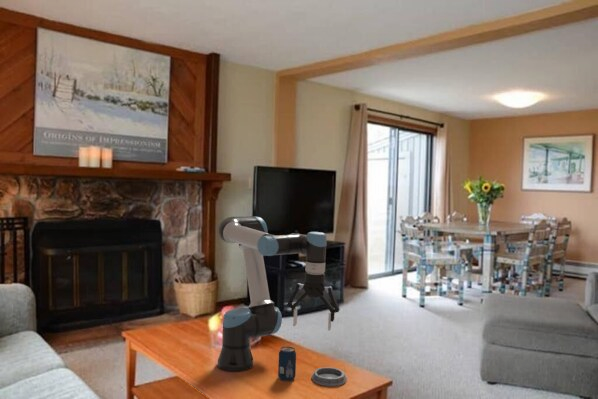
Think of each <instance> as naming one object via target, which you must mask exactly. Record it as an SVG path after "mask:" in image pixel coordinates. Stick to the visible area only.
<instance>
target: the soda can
mask: <svg viewBox="0 0 598 399" xmlns="http://www.w3.org/2000/svg"><path fill="white" fill-rule="evenodd" d="M296 367H297V352H296V349H295V347H292V346H283V347H280V350H279V352H278V369H277V370H278V372H277V376H278V379H279V380H280V381H281V382H292V381H294V379H295V378H296V372H297V371H296Z"/></svg>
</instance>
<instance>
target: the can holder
mask: <svg viewBox="0 0 598 399" xmlns="http://www.w3.org/2000/svg"><path fill="white" fill-rule="evenodd" d="M347 379H348V378H347V376H346V373H345V372H344V371H343V370H342V369H339V368H337V367H332V366H327V367H326V366H325V367H324V366H322V367H319V368H317V369H315V370H314V371H313V374H312V375H311V381H312V382H313V383H315V384H317V385H319V386H323V387H329V388H331V387H334V388H335V387H340V385H341V386H343V385H345V384H346V382H347ZM344 383H345V384H344Z"/></svg>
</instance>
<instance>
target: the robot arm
mask: <svg viewBox="0 0 598 399" xmlns="http://www.w3.org/2000/svg"><path fill="white" fill-rule="evenodd" d="M268 230H269V229H268V226H267V223H266V221H265V220H264V219H263V218H262V217H260V216H253V215H250V216H247V215H246V216H229V217H226V218H224V219H222V221H221V222H220V223H219V225H218V227H217V234H218V237H219V238H220V240H222V241H223V242H226V243H228V244H238V247H239V248H240V249H241V250H242V253H243V258H244V265H245V266H244V267H245V271H246V278H247V285H248V292H249V298H250V303H249V305H248V307H236V308H232V309H229V310H226V312H225V313H224V314H223V319H222V324H221V325H222V338H221V339H222V340H221V341H222V342H221V350H220V351H219V352H220V353H219V356H218V359H217V367H218V369H220V370H222V371H224V372H225V371H226V372H233V373H235V372H245V371H248V370H250V369H252V368H253V367H254V357H253V353H252V349H251V339H255V338H260V337H265V336H266V337H267V336H271V335H274V334H276V333H278V332H279V331H280V329H281V328H282V323H283V322H282V321H283V317H282V312H281V311H280V309H279V307H277V306H275V302H274V301H273V300H271V297H270V291H269V285H268V278H267V271H266V267H265V266H266V265H265V260H264V257H266V256H267V257H273V256H280V255H294V254H295V255H296V254H300V255H304V256H305V269H304V270H305V273H304V284H303V283H300V282H298V283H297V284H295V290H293V293H292V294H291V296H290V298H289V300H288V302H287V304H286V307H288V308H290V310H291V311H290V316H291V317H292V318H293V323H292V326H294V327H296V326H297V323H298V322H297V320H298V307H297V306H298V305H299V303H301V302H302V301H303V300H304V298H306V297H307V296H308V297H310V298H319V299H320V300H321V301H322V303H323V304H324V306H326V308H327V309H328V311H329V312H328V319H327V320H328V321H327V322H328V323H327V331H331V329H332V322H334V321H335V313H339V311H340V309H341V308H340V307H339V304H338V302H337V299H336V297H335V295H334V292H333V286H331V285H330V286H325V272H326V258H327V257H326V256H327V255H326V254H327V245H328V244H327V234H326V233H324V232H321V231H320V232H319V231H310V232H307V235H306V234H301V233H294V232H292V233H290V234H282V235H281V234H279V235H277V234H276V235H275V234H272V233H271V234H270V233H268ZM302 289H303V290H304V292H303V294H302V295H301V296H300V297H299V298H298V299H297V300H296V301H295V302H294V300H295V299H296V297H297V295H298V294H299V291H300V290H302ZM324 292H326V293H327V294H328V297H329V299H330V301H331V302H330V301H329V299H328V298H327V297H326V295H325V293H324ZM293 302H294V303H293ZM331 303H332V304H331Z"/></svg>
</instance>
